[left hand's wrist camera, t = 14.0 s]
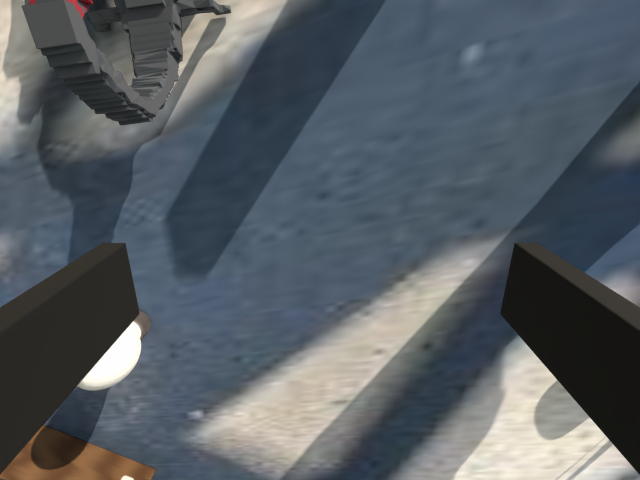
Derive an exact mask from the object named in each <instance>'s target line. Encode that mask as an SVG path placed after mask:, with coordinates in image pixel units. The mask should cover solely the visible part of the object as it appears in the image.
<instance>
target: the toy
mask: <svg viewBox="0 0 640 480" xmlns="http://www.w3.org/2000/svg"><path fill="white" fill-rule="evenodd" d="M114 1H115V5H116V7H114V8H108V9H102V10H97V11H92V12H89V8H90V7H89V4H93V2H92V0H25V5H24V6H22V8H23V11H24V14H25V17H26V20H27V22H28V25H29V28H30V31H31V34H32V36H33V39H34V42H35V45H36V48H37V49H41V52H42V54H43V55H45V56H47V59H48V62H49V64H50V67H54V69H55V72H56V75H57V78H59V79H64V81H65V85H66V86H67V87H68V88H70V89H71V90H72V91H73V92H74V93H75V95H79V98H80V100H83V101H84V102H85V103H86V104H87V105H88V106H89V107H90V108H91V109H94V110H95V113H96V114H105V115H106V117H107V118H109V119H112V120H114V121H119V124H120V125H127V124H135V123H142V122H150V121H153V118H152V117H155V114H156V113H157V111H158V109H163V107H164V105H165V102H166V98H168V95H169V94H170V91H171V89H172V88H173V86H174V82H175V81H178V78H179V76H178V72H177V71H178V68H179V65H178V64H179V63H180V61H183V51H182V40H181V33H182V24H181V18H180V17H183V16H188V15H193V14H198V13H210V12H213V13H215V14H216V15H220V14H227V13H231V9H230V6H226V5H218V4H217V3H216V2H215V1H214V0H114ZM85 12H88V16H89V20H90V22H91V24H93V25H94V28H95V30H96V31H98V32H103V31H110V28H109V23H110V22H117V21H122V24H123V28H124V30H125V31H126V32H127V33H129V39H130V47H131V53H132V59H133V67H134V74H135V76H136V77H137V78H136V79H132V80H133V82H132V86H128V85H127V83H126V82H125V80H124V78H123V76H122V74H121V72H118V71H115V70H114V69H113V67H112V65H111V63H110V61H109V60H108V58H107V57H106V55H105V54H104V53H103V52H102V51H100V50H99V48H96V45H95V42H94V41H93V40H92V39H91V38H90V36H89V34H88V31H87V28H86V26H85V23H84V20H83V16H84V14H85Z"/></svg>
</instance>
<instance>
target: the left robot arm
mask: <svg viewBox="0 0 640 480" xmlns="http://www.w3.org/2000/svg"><path fill="white" fill-rule="evenodd" d="M139 314H140V313H139V308H138V303H137V298H136V293H135V288H134V283H133V278H132V274H131V269H130V264H129V259H128V254H127V249H126V244H125V243H102V244H100V245H99V246H97V247H96V248H94V249H92V250H91V251H89V252H88V253H86V254H85V255H83V256H81V257H80V258H78V259H77V260H75V261H73V262H72V263H70V264H69V265H67V266H65V267H64V268H62V269H61V270H59V271H58V272H56V273H54V274H53V275H51V276H50V277H48V278H46V279H45V280H43V281H42V282H40V283H39V284H37V285H35V286H34V287H32V288H31V289H29V290H27V291H26V292H24V293H23V294H21V295H20V296H18V297H16V298H15V299H13V300H12V301H10V302H8V303H7V304H5V305H4V306H2V307H1V308H0V474H1V473H2V472H3V471H4V470H5V469H6V467H7V466H8V465H9V464H10V463H11V462H12V461H13V459H14V458H15V457H16V456H17V455H18V454H19V452H20V451H21V450H22V449H23V448H24V447H25V446H26V444H27V443H28V442H29V441H30V440H31V439H32V437H33V436H34V435H35V434H36V433H37V432H38V431H39V429H40V428H41V427H42V426H43V425H44V424H45V422H46V421H47V420H48V419H49V418H50V417H51V416H52V414H53V413H54V412H55V411H56V410H57V409H58V407H59V406H60V405H61V404H62V403H63V402H64V401H65V399H66V398H67V397H68V396H69V395H70V394H71V392H72V391H73V390H74V389H75V388H76V387H77V386H78V384H79V383H80V382H81V381H82V380H83V379H84V378H85V376H86V375H87V374H88V373H89V372H90V371H91V369H92V368H93V367H94V366H95V365H96V364H97V363H98V361H99V360H100V359H101V358H102V357H103V356H104V354H105V353H106V352H107V351H108V350H109V349H110V348H111V346H112V345H113V344H114V343H115V342H116V341H117V339H118V338H119V337H120V336H121V335H122V334H123V333H124V331H125V330H126V329H127V328H128V327H129V326H130V324H131V323H132V322H133V321H134V320H135V319H136V318H137V316H138V315H139ZM500 314H501V315H502V316H503V318H504V319H505V320H506V321H507V322H508V323H509V324H510V326H511V327H512V328H513V329H514V330H515V331H516V333H517V334H518V335H519V336H520V337H521V338H522V339H523V341H524V342H525V343H526V344H527V345H528V346H529V348H530V349H531V350H532V351H533V352H534V353H535V354H536V356H537V357H538V358H539V359H540V360H541V361H542V363H543V364H544V365H545V366H546V367H547V368H548V369H549V371H550V372H551V373H552V374H553V375H554V376H555V378H556V379H557V380H558V381H559V382H560V383H561V384H562V386H563V387H564V388H565V389H566V390H567V391H568V392H569V394H570V395H571V396H572V397H573V398H574V399H575V401H576V402H577V403H578V404H579V405H580V406H581V407H582V409H583V410H584V411H585V412H586V413H587V414H588V416H589V417H590V418H591V419H592V420H593V421H594V422H595V424H596V425H597V426H598V427H599V428H600V429H601V431H602V432H603V433H604V434H605V435H606V436H607V437H608V439H609V440H610V441H611V442H612V443H613V444H614V446H615V447H616V448H617V449H618V450H619V451H620V452H621V454H622V455H623V456H624V457H625V458H626V459H627V461H628V462H629V463H630V464H631V465H632V466H633V467H634V469H635V470H636V471H637V472H638V473H639V474H640V308H639V307H638V306H636V305H635V304H633V303H632V302H630V301H628V300H627V299H625V298H624V297H622V296H620V295H619V294H617V293H616V292H614V291H613V290H611V289H609V288H608V287H606V286H605V285H603V284H601V283H600V282H598V281H597V280H595V279H594V278H592V277H590V276H589V275H587V274H586V273H584V272H582V271H581V270H579V269H578V268H576V267H575V266H573V265H571V264H570V263H568V262H567V261H565V260H563V259H562V258H560V257H559V256H557V255H555V254H554V253H552V252H551V251H549V250H548V249H546V248H544V247H543V246H541V245H540V244H538V243H515V244H514V249H513V254H512V259H511V264H510V269H509V274H508V278H507V283H506V288H505V293H504V298H503V303H502V308H501V313H500Z"/></svg>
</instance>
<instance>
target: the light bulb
mask: <svg viewBox="0 0 640 480" xmlns="http://www.w3.org/2000/svg"><path fill="white" fill-rule="evenodd" d="M139 313H140V314H139V315H138V316H137V318H136V319H135V320H134V321H133V322H132V323H131V324H130V326H129V327H128V328H127V329H126V330H125V331H124V333H123V334H122V335H121V336H120V337H119V338H118V339H117V341H116V342H115V343H114V344H113V345H112V346H111V348H110V349H109V350H108V351H107V352H106V353H105V354H104V356H103V357H102V358H101V359H100V360H99V361H98V363H97V364H96V365H95V366H94V367H93V368H92V369H91V371H90V372H89V373H88V374H87V375H86V376H85V378H84V379H83V380H82V381H81V382H80V383H79V384H78V387H80V388H82V389H85V390H102V389H105V388H109V387H111V386H113V385H115V384H117V383H119V382H120V381H121V380H122V379H124V378H125V377H126V376H127V375H128V374H129V373H130V372H131V370H132V369H133V368H134V366H135V365H136V363H137V361H138V358H139V355H140V351H141V339H142V338H143V337H144V335H145V334H146V333H147V331H148V330H149V329H150V327H151V321H150V319H149V317H148V316H147V315H146V314H144V313H143V312H141V311H139Z"/></svg>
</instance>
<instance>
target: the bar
mask: <svg viewBox="0 0 640 480" xmlns="http://www.w3.org/2000/svg"><path fill="white" fill-rule="evenodd" d="M155 470H156V469H154V468H151V467H148V466H146V465H143V464H141V463H138V462H136V461H133V460H131V459H128V458H126V457H123V456H121V455H118V454H116V453H113V452H111V451H108V450H105V449H103V448H100V447H98V446H95V445H93V444H90V443H88V442H85V441H83V440H80V439H78V438H75V437H73V436H70V435H68V434H65V433H62V432H60V431H57V430H55V429H52V428H50V427H47V426H45V425H43V426H42V427H41V428H40V429H39V431H38V432H37V433H36V434H35V435H34V436H33V437H32V439H31V440H30V441H29V442H28V443H27V444H26V446H25V447H24V448H23V449H22V450H21V451H20V452H19V454H18V455H17V456H16V457H15V458H14V459H13V461H12V462H11V463H10V464H9V465H8V466H7V467H6V469H5V470H4V471H3V472H2V473H1V474H0V480H121V478H122V477H123V476H129V477H131V478H133V479H134V480H151V479H152V477H153V475H154V472H155Z"/></svg>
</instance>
